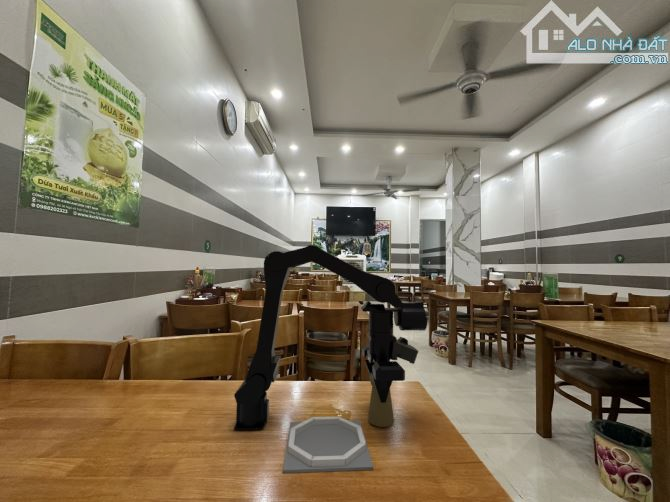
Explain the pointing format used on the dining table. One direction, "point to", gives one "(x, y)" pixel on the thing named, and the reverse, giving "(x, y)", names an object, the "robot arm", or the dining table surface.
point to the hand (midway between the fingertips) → (380, 397)
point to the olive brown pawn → (380, 409)
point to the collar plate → (326, 446)
